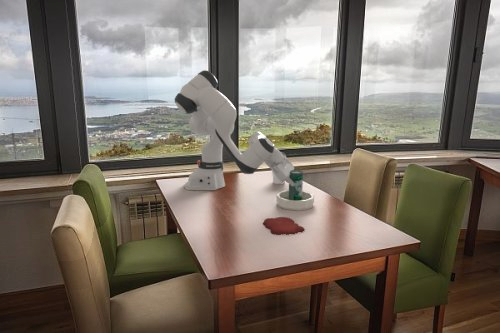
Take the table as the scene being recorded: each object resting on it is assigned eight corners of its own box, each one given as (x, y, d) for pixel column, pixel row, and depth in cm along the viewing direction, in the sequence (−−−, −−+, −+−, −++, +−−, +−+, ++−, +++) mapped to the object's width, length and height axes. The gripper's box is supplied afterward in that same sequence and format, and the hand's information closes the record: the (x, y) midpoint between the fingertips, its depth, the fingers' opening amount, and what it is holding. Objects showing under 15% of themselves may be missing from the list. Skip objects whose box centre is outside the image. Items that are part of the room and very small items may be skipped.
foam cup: (286, 185, 209) (286, 162, 206) (269, 184, 211) (270, 161, 208) (287, 180, 218) (288, 159, 215) (272, 179, 220) (272, 158, 217)
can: (298, 205, 173) (299, 173, 170) (286, 203, 176) (287, 172, 173) (303, 201, 178) (304, 171, 175) (291, 199, 181) (292, 169, 178)
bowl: (282, 211, 168) (282, 202, 167) (273, 199, 184) (273, 191, 183) (318, 209, 171) (318, 200, 170) (306, 197, 187) (306, 189, 186)
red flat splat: (307, 233, 146) (308, 228, 145) (275, 238, 141) (275, 233, 141) (288, 218, 162) (288, 213, 161) (258, 221, 157) (258, 217, 157)
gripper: (275, 161, 165) (297, 184, 164) (284, 152, 184) (303, 173, 184) (265, 170, 167) (286, 193, 167) (275, 160, 186) (294, 181, 186)
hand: (295, 182), depth 175 cm, fingers open, 8 cm apart
